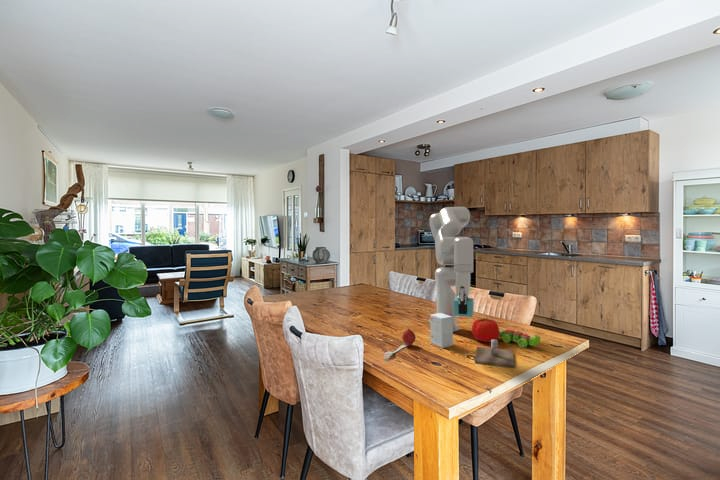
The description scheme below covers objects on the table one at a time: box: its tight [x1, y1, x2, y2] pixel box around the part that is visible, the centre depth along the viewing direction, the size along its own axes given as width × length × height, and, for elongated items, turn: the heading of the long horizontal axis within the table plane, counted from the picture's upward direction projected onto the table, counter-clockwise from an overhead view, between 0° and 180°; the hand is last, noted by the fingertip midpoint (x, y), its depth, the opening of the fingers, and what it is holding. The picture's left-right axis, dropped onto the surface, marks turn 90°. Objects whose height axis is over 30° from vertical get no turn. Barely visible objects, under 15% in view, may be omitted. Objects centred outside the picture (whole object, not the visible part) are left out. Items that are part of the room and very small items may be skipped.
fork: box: [382, 344, 408, 362], centre depth 145 cm, size 3×21×3 cm, turn 148°
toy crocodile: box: [498, 329, 541, 349], centre depth 153 cm, size 20×7×6 cm, turn 36°
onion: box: [401, 327, 416, 347], centre depth 152 cm, size 6×6×8 cm
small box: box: [429, 312, 454, 349], centre depth 153 cm, size 8×6×13 cm
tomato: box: [471, 317, 500, 343], centre depth 157 cm, size 12×12×10 cm
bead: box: [454, 296, 474, 318], centre depth 141 cm, size 7×7×6 cm
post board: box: [474, 339, 516, 369], centre depth 137 cm, size 14×16×7 cm
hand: (463, 311), depth 141 cm, fingers closed on bead, 7 cm apart
